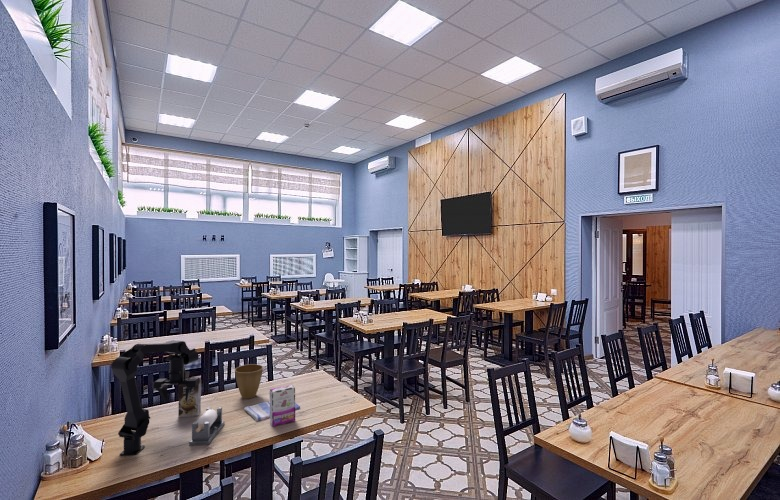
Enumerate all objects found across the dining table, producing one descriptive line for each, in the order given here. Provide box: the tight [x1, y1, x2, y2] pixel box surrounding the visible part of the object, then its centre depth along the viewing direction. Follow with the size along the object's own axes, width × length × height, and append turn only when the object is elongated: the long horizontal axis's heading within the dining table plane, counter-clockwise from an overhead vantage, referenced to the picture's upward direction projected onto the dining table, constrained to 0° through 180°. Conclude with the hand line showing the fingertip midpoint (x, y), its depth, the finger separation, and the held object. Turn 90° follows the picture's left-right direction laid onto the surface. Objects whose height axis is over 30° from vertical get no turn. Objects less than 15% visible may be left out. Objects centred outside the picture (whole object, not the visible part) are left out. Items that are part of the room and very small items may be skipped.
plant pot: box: [234, 363, 264, 400], centre depth 209 cm, size 15×15×16 cm
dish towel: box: [244, 400, 301, 422], centre depth 192 cm, size 17×24×3 cm
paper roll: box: [195, 408, 217, 432], centre depth 166 cm, size 18×6×6 cm
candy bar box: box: [269, 384, 296, 427], centre depth 178 cm, size 11×5×16 cm, turn 123°
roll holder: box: [188, 406, 225, 447], centre depth 166 cm, size 19×8×8 cm, turn 5°
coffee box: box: [177, 379, 202, 418], centre depth 186 cm, size 9×6×16 cm
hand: (176, 401), depth 172 cm, fingers open, 9 cm apart
